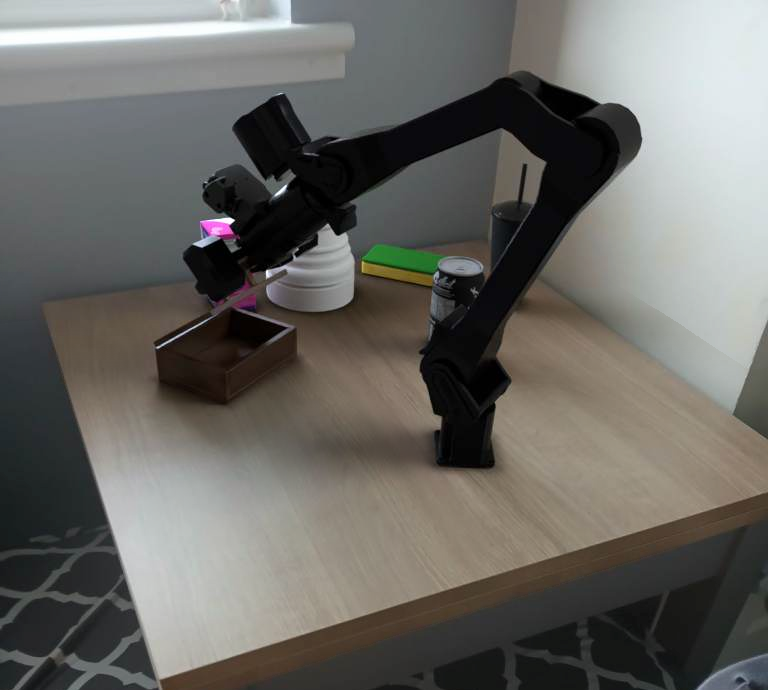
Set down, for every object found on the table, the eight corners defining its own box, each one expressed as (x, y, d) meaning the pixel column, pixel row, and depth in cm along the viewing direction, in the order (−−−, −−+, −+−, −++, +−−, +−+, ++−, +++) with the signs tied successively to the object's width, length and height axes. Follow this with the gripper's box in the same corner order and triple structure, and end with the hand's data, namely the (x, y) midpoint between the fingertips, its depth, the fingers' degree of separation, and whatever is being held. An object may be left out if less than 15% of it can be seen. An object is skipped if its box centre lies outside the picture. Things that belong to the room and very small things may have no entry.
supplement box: (205, 298, 127) (198, 219, 120) (244, 292, 129) (240, 215, 122) (216, 315, 123) (211, 235, 116) (257, 309, 125) (254, 230, 118)
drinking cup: (474, 308, 129) (491, 168, 117) (485, 288, 135) (502, 152, 122) (526, 317, 127) (549, 176, 115) (534, 296, 133) (557, 160, 121)
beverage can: (476, 341, 121) (486, 257, 113) (475, 364, 116) (486, 277, 108) (428, 337, 121) (436, 252, 114) (425, 359, 116) (433, 273, 108)
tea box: (297, 357, 115) (296, 326, 112) (227, 405, 105) (225, 373, 102) (232, 334, 119) (230, 305, 116) (158, 379, 108) (154, 347, 106)
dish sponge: (445, 290, 133) (447, 274, 132) (360, 273, 137) (361, 258, 135) (458, 273, 139) (460, 258, 137) (376, 257, 142) (377, 242, 141)
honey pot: (257, 279, 133) (252, 156, 122) (337, 271, 137) (340, 151, 126) (279, 316, 124) (276, 186, 113) (365, 306, 128) (371, 180, 116)
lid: (288, 273, 108) (269, 238, 107) (213, 316, 98) (190, 277, 97) (231, 304, 116) (212, 272, 114) (155, 347, 106) (134, 312, 104)
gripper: (300, 129, 99) (224, 200, 110) (192, 169, 86) (118, 246, 97) (355, 216, 102) (275, 278, 112) (257, 268, 89) (178, 332, 99)
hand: (215, 281), depth 105 cm, fingers closed on lid, 6 cm apart
